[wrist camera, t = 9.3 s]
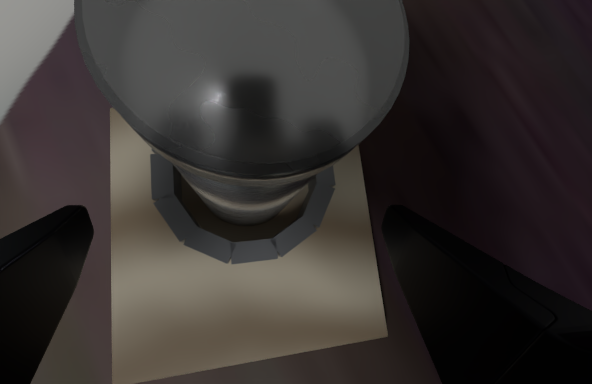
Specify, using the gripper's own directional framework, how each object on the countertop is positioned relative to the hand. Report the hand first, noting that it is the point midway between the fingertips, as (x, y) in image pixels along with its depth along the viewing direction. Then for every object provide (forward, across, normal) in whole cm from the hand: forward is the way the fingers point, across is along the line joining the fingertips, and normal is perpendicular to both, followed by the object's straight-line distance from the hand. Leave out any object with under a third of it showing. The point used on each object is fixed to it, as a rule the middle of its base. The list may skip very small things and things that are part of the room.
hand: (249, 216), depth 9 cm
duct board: (+6, 0, +6) cm, 9 cm away
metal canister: (+7, 0, +3) cm, 8 cm away
